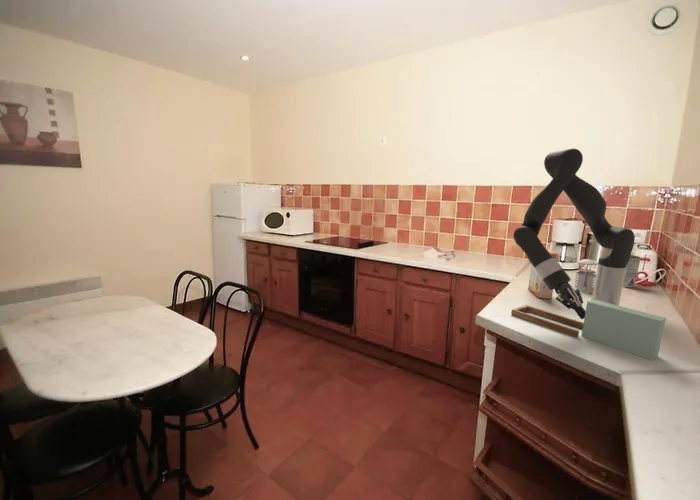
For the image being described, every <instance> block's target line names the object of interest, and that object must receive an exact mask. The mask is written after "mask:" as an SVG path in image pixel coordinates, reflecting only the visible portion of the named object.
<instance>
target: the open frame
mask: <svg viewBox="0 0 700 500" xmlns="http://www.w3.org/2000/svg"><path fill="white" fill-rule="evenodd" d="M525 311H526V312H525ZM528 311H529V313H531V312H532V314H535V315H537V316H535V315H532V314H529V313H527V312H528ZM511 314H512V315H511V316H514V315H515V316H514V317H517V316H518V317H517V318H520V319H522V318H523V320H525V321H528V322H531V323H535V324H537V325H540V326H542V327H546V328H548V329H552V330H555V331H557V332H559V333H563V334H565V335H569V336H572V337H575V338H579V335H580V330H577V329H575V328H578V329H582V330H583V324H584V321H583V322H582V321H579V320H576V319H573V318H570V317H567V316H563V315H561V314H557V313H553V312H550V311H547V310H544V309H541V308H538V307H534V306H531V305H528V304H524V305H522V306H518V307H516V308H512V309H511ZM538 316H541V317H543V318H541V317H538ZM545 318H547V319H551V321H550V320H547V319H545ZM552 320H554V321H556V322H553V321H552ZM558 322H559V323H558ZM560 323H562V324H563V325H562V324H560ZM564 324H565V325H564ZM566 325H569V326H572V327H575V328H572V327H568V326H566Z"/></svg>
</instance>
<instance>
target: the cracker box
mask: <svg viewBox="0 0 700 500" xmlns="http://www.w3.org/2000/svg"><path fill="white" fill-rule="evenodd" d="M546 249H547V250H548V252H549V253H550V254H551V255H552V257H553V258H554V259H555V260H556V261H557V262H558V260H559V253H557V252H555V251H552V250H550V249H548V248H546ZM527 286H528V288H527V290H528V291H530V292H531V293H532V294H533V295H534V296H536V298H538V299H545V300H552V299H553V291H554V289H553V290H550V289H549V288H548V287H547V285H546V284H545V283H544V281H543V280H542V278H541V277H540V276H539V274H538V273H537V271H536V269H535V268H534V266H533V265H532V264H531V266H530V271H529V279H528V285H527Z"/></svg>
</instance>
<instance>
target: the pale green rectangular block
mask: <svg viewBox="0 0 700 500" xmlns="http://www.w3.org/2000/svg"><path fill="white" fill-rule="evenodd" d="M585 311H586V312H585V318H584V319H583V323H584V324H583V329H582V331H581V337H583V338H587V339H589V340H593V341H596V342H598V343H601V344H605V345H606V346H610V347H613V348H616V349H618V350H621V351H625V352H626V353H631V354H633V355H636V356H639V357H642V358H645V359H647V360H650V361H654V360H655V359H656V358H658V356H659V352H660V348H661V343H662V339H663V336H664V335H663V334H664V330H665V325H666V321H667V317H665V316H661V315H656V314H653V313H649V312H645V311H641V310H637V309H633V308H628V307H625V306H621V305H619V306H618V305H614V304H610V303H606V302H602V301H598V300H594V299H593V300H592V299H591V300H588V301H586V306H585Z"/></svg>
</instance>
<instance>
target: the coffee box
mask: <svg viewBox="0 0 700 500" xmlns="http://www.w3.org/2000/svg"><path fill="white" fill-rule="evenodd" d="M641 258H642V257H641V256H639V255H633V254H631V256H630V260H629V262H628V263H627V266H626V271H625V276H624V281H623V287H622V288H635V287H636V281H637V277H638V272H639V268H640V263H641Z"/></svg>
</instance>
